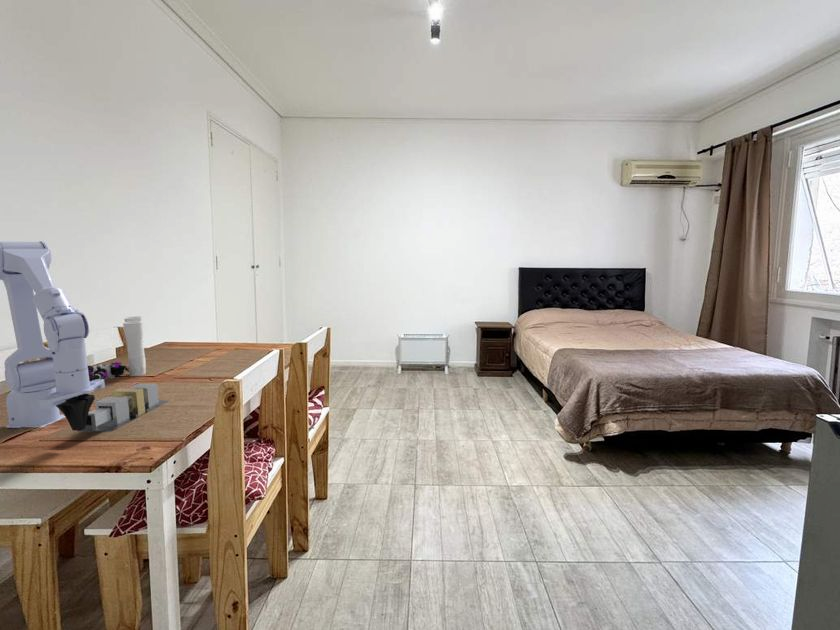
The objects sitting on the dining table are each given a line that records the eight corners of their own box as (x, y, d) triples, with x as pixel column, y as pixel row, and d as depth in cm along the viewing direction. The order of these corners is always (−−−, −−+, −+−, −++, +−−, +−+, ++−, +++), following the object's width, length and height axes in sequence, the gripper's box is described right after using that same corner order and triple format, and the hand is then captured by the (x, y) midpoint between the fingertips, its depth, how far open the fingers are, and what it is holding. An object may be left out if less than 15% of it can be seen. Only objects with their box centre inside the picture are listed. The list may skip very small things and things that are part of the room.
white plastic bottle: (129, 365, 163) (124, 317, 160) (147, 363, 166) (142, 316, 163) (128, 377, 149) (122, 324, 146) (147, 374, 151) (142, 322, 149)
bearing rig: (83, 432, 104) (80, 406, 103) (145, 402, 125) (143, 379, 124) (111, 433, 103) (108, 407, 102) (169, 402, 124) (167, 380, 123)
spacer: (114, 415, 113) (111, 391, 112) (122, 412, 115) (119, 388, 114) (138, 416, 112) (136, 391, 111) (145, 412, 115) (143, 388, 114)
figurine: (48, 357, 152) (142, 354, 158) (49, 377, 152) (143, 373, 159) (1, 369, 129) (114, 365, 135) (3, 393, 129) (115, 387, 136)
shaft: (77, 431, 100) (74, 414, 100) (137, 402, 119) (135, 388, 118) (92, 431, 100) (90, 415, 99) (150, 402, 119) (149, 388, 118)
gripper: (58, 379, 89) (67, 444, 91) (114, 361, 103) (120, 417, 105) (26, 378, 90) (35, 443, 92) (85, 360, 104) (92, 416, 106)
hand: (78, 429), depth 98 cm, fingers closed
